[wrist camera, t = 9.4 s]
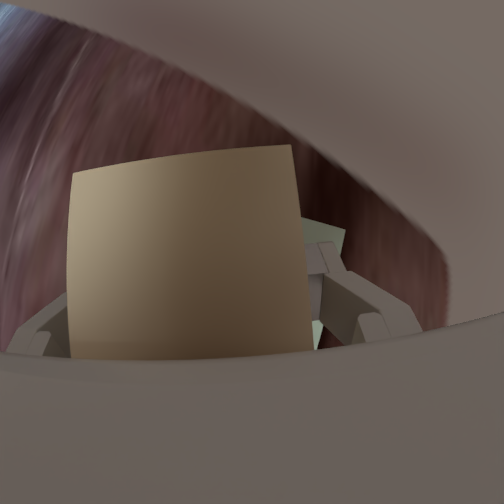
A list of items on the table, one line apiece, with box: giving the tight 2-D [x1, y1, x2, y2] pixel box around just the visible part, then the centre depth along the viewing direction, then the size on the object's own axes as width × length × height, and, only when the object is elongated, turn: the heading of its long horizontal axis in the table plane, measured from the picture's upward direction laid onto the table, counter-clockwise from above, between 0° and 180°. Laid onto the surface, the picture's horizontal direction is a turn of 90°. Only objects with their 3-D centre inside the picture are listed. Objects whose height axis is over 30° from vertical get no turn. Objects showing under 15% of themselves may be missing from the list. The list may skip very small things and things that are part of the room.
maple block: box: [67, 145, 314, 360], centre depth 11 cm, size 5×5×9 cm
